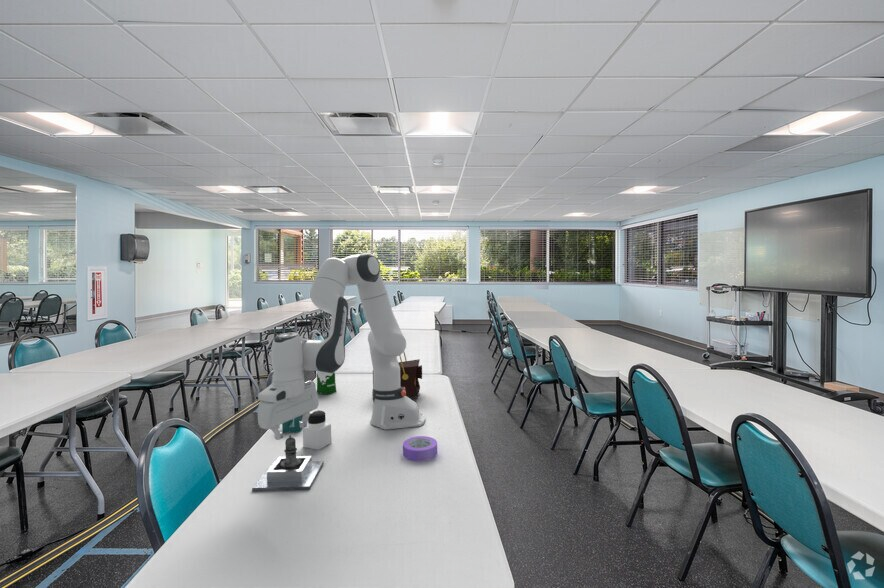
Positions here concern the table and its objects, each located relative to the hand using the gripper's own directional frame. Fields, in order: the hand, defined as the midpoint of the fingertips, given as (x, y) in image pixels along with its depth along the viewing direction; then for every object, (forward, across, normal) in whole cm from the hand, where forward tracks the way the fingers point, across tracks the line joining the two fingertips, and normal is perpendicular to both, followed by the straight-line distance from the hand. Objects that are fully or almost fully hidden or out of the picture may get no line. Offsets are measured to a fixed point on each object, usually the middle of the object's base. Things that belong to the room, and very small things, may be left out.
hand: (291, 432), depth 124 cm
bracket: (+14, -32, -33) cm, 48 cm away
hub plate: (+13, +1, -1) cm, 13 cm away
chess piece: (+13, +1, 0) cm, 13 cm away
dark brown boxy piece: (+15, -81, -16) cm, 84 cm away
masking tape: (+15, -30, +26) cm, 43 cm away
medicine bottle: (+14, -20, -10) cm, 27 cm away
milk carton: (+14, -72, -54) cm, 92 cm away
